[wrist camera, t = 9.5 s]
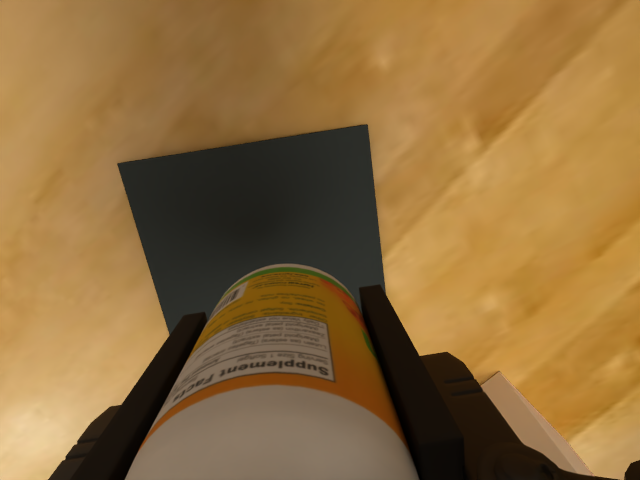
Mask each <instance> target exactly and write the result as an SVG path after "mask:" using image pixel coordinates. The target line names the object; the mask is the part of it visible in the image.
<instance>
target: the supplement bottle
mask: <svg viewBox="0 0 640 480" xmlns="http://www.w3.org/2000/svg"><path fill="white" fill-rule="evenodd" d="M125 480H419V476H418V473H417V470H416V467H415V464H414V461H413V458H412V455H411V452H410V449H409V446H408V443H407V440H406V438H405V435H404V432H403V429H402V426H401V423H400V420H399V418H398V415H397V412H396V409H395V406H394V403H393V400H392V398H391V395H390V392H389V389H388V386H387V383H386V380H385V377H384V374H383V371H382V368H381V365H380V362H379V360H378V357H377V354H376V351H375V349H374V346H373V343H372V340H371V337H370V335H369V332H368V329H367V326H366V323H365V321H364V318H363V315H362V313H361V311H360V308H359V306H358V304H357V302H356V300H355V299H354V297H353V296H352V294H351V293H350V292H349V291H348V290H347V288H346V287H345V286H344V285H343V284H342V283H340V282H339V281H338V280H337V279H335V278H334V277H332V276H331V275H329V274H327V273H325V272H323V271H321V270H319V269H316V268H313V267H310V266H305V265H299V264H276V265H270V266H266V267H263V268H260V269H257V270H255V271H253V272H251V273H249V274H247V275H245V276H244V277H242V278H241V279H239V280H238V281H237V282H236V283H234V284H233V285H232V286H231V287H230V288H229V289H228V290H227V291H226V292H225V294H224V295H223V296H222V298H221V299H220V301H219V302H218V304H217V305H216V307H215V309H214V311H213V312H212V314H211V316H210V318H209V320H208V322H207V323H206V325H205V327H204V329H203V331H202V333H201V335H200V337H199V338H198V340H197V342H196V344H195V346H194V348H193V350H192V352H191V354H190V356H189V358H188V360H187V361H186V363H185V365H184V367H183V369H182V371H181V373H180V374H179V376H178V378H177V380H176V382H175V384H174V386H173V388H172V390H171V391H170V393H169V395H168V397H167V399H166V401H165V403H164V405H163V406H162V408H161V410H160V412H159V414H158V416H157V417H156V419H155V421H154V423H153V425H152V427H151V429H150V430H149V432H148V434H147V436H146V438H145V440H144V441H143V443H142V445H141V447H140V449H139V451H138V453H137V455H136V457H135V459H134V461H133V463H132V465H131V467H130V469H129V471H128V474H127V476H126V478H125Z"/></svg>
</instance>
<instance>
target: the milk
mask: <svg viewBox="0 0 640 480" xmlns="http://www.w3.org/2000/svg"><path fill="white" fill-rule="evenodd" d="M481 387H482V389H483V392H485V393H486V394H487V395H488V397H489V398H490V400H491V401H492V402H493V404H494V405H495V406H496V408H497V409H498V411H499V412H500V413H501V415H502V416H503V417H504V419H505V420H506V421H507V423H508V424H509V426H510V427H511V428H512V430H513V431H514V432H515V434H516V435H517V436H518V438H519V439H520V441H521V442H522V443H523V444H524V445H526V446H528V447H531V448H533V449H535V450H537V451H539V452H541V453H543V454H544V455H545V456H546V457H548V458H549V459H550V460H551V461H552V462H554V463H555V464H556V465H557V466H558V468H560V469H563V470H565V471H569V472H573V473H578V474H582V475H589V476H594V475H593V473H592V472H591V471H590V470H589V468H588V467H587V466H586V465H585V463H584V462H583V461H582V460H581V458H580V457H579V456H578V455H577V453H576V452H575V451H574V450H573V448H572V447H571V446H570V445H569V443H568V442H567V441H566V440H565V439H564V438H563V437H562V436H561V435H560V434H559V433H558V432H557V431H556V430H555V429H554V428H553V427H552V425H551V424H550V423H549V422H548V421H547V420H546V419H545V418H544V417H543V416H542V415H541V414H540V413H539V412H538V411H537V410H536V409H535V408H534V407H533V406H532V405H531V404H530V403H529V401H528V400H527V399H526V398H525V397H524V396H523V395H522V394H521V393H520V392H519V391H518V390H517V389H516V388H515V387H514V386H513V385H512V384H511V383H510V382H509V381H508V380H507V379H506V378H505V376H504V375H503V374H502V373H501V372H500V371H499V372H498V373H497V374H495V375H494V376H493V377H491V378H490V379H489V380H487V381H486V382H485V383H484V384H482V385H481Z"/></svg>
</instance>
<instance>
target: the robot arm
mask: <svg viewBox="0 0 640 480" xmlns="http://www.w3.org/2000/svg"><path fill="white" fill-rule="evenodd" d="M359 294H360V302H361V310H362V315H363V318H364V321H365V323H366V326H367V329H368V332H369V335H370V337H371V340H372V343H373V346H374V349H375V351H376V354H377V357H378V360H379V362H380V365H381V368H382V371H383V374H384V377H385V380H386V383H387V386H388V389H389V392H390V395H391V398H392V400H393V403H394V406H395V409H396V412H397V415H398V418H399V420H400V423H401V426H402V429H403V432H404V435H405V438H406V440H407V443H408V446H409V449H410V452H411V455H412V458H413V461H414V464H415V467H416V470H417V473H418V476H419V480H618V479H611V478H604V477H597V476H589V475H582V474H578V473H573V472H569V471H565V470H563V469H560V468H558V466H557V465H556V464H555V463H554V462H552V461H551V460H550V459H549V458H548V457H546V456H545V455H544V454H543V453H541V452H539V451H537V450H535V449H533V448H531V447H528V446H526V445H524V444H523V443H522V442H521V441H520V439H519V438H518V436H517V435H516V434H515V432H514V431H513V430H512V428H511V427H510V426H509V424H508V423H507V421H506V420H505V419H504V417H503V416H502V415H501V413H500V412H499V411H498V409H497V408H496V406H495V405H494V404H493V402H492V401H491V400H490V398H489V397H488V395H487V394H486V393H485V392H483V389H482V387H481V386H480V385H479V383H478V382H477V380H476V379H474V376H473V375H472V374H471V372H470V371H469V370H468V368H467V367H466V365H465V364H464V363H463V362H462V361H460V360H459V359H457V358H456V357H454V356H453V355H451V354H450V353H448V352H443V353H437V354H430V355H424V356H419V354H418V352H417V351H416V349H415V347H414V345H413V343H412V342H411V340H410V338H409V336H408V334H407V332H406V331H405V329H404V327H403V325H402V323H401V321H400V320H399V318H398V316H397V314H396V312H395V311H394V309H393V307H392V305H391V303H390V301H389V300H388V298H387V296H386V294H385V292H384V290H383V289H382V287H381V285H380V284H378V285H372V286H365V287H359ZM207 322H208V321H207V317H206V313H205V312H200V313H194V314H187V315H183V317H182V318H181V320H180V321H179V323H178V324H177V325H176V327H175V328H174V330H173V331H172V333H171V334H170V336H169V337H168V338H167V340H166V341H165V343H164V344H163V346H162V347H161V349H160V350H159V351H158V353H157V354H156V356H155V357H154V359H153V360H152V362H151V363H150V364H149V366H148V367H147V369H146V370H145V372H144V373H143V375H142V376H141V377H140V379H139V380H138V382H137V383H136V385H135V386H134V388H133V389H132V390H131V392H130V393H129V395H128V396H127V398H126V399H125V401H124V402H123V403H122V405H118V406H111V407H109V408H108V409H107V410H106V411H104V412H103V413H102V414H101V415H100V416H99V417H97V418H96V419H95V420H94V421H93V422H92V423H91V424H90V425H89V426H88V428H87V429H86V430H85V432H84V433H83V434H82V436H81V437H80V438H79V440H78V441H77V444H76V445H74V446H73V447H72V449H71V450H70V451H69V453H68V454H67V455H66V459H65V460H64V461H62V462H61V463H60V465H59V466H58V467H57V469H56V470H55V471H54V473H53V474H52V475H51V477H50V478H49V479H48V480H125V478H126V476H127V474H128V471H129V469H130V467H131V465H132V463H133V461H134V459H135V457H136V455H137V453H138V451H139V449H140V447H141V445H142V443H143V441H144V440H145V438H146V436H147V434H148V432H149V430H150V429H151V427H152V425H153V423H154V421H155V419H156V417H157V416H158V414H159V412H160V410H161V408H162V406H163V405H164V403H165V401H166V399H167V397H168V395H169V393H170V391H171V390H172V388H173V386H174V384H175V382H176V380H177V378H178V376H179V374H180V373H181V371H182V369H183V367H184V365H185V363H186V361H187V360H188V358H189V356H190V354H191V352H192V350H193V348H194V346H195V344H196V342H197V340H198V338H199V337H200V335H201V333H202V331H203V329H204V327H205V325H206V323H207ZM624 480H640V460H639V461H636V462H633V463H631V464H630V466H629V467H628V469H627V471H626V472H625V477H624Z"/></svg>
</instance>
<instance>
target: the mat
mask: <svg viewBox="0 0 640 480" xmlns="http://www.w3.org/2000/svg"><path fill="white" fill-rule="evenodd" d="M117 165H118V168H119V171H120V174H121V178H122V181H123V184H124V187H125V191H126V194H127V197H128V200H129V204H130V207H131V210H132V213H133V217H134V220H135V223H136V227H137V230H138V233H139V236H140V240H141V243H142V246H143V249H144V253H145V256H146V259H147V262H148V266H149V269H150V272H151V276H152V279H153V282H154V285H155V289H156V292H157V295H158V298H159V302H160V305H161V308H162V311H163V315H164V318H165V321H166V325H167V328H168V331H169V334H171V333H172V331H173V330H174V328H175V327H176V325H177V324H178V323H179V321H180V320H181V318H182V317H183V315H187V314H194V313H200V312H205V313H206V317H207V321H208V320H209V318H210V316H211V314H212V312H213V311H214V309H215V307H216V305H217V304H218V302H219V301H220V299H221V298H222V296H223V295H224V294H225V292H226V291H227V290H228V289H229V288H230V287H231V286H232V285H233V284H234V283H236V282H237V281H238V280H239V279H241V278H242V277H244V276H245V275H247V274H249V273H251V272H253V271H255V270H257V269H260V268H263V267H266V266H270V265H276V264H299V265H305V266H310V267H313V268H316V269H319V270H321V271H323V272H325V273H327V274H329V275H331V276H332V277H334V278H335V279H337V280H338V281H339V282H340V283H342V284H343V285H344V286H345V287H346V288H347V290H348V291H349V292H350V293H351V294H352V296H353V297H354V299H355V300H356V302H357V304H358V306H359V308H360V311H361V313H362V310H361V302H360V294H359V287H365V286H372V285H378V284H380V285H381V287H382V289H383V290H384V292H385V282H384V273H383V264H382V254H381V245H380V236H379V226H378V217H377V208H376V198H375V189H374V179H373V170H372V161H371V151H370V142H369V133H368V125H367V124H366V125H360V126H353V127H347V128H341V129H334V130H328V131H321V132H315V133H309V134H302V135H296V136H290V137H283V138H277V139H270V140H264V141H258V142H251V143H245V144H239V145H232V146H226V147H219V148H213V149H207V150H200V151H194V152H187V153H181V154H175V155H168V156H162V157H156V158H149V159H143V160H136V161H130V162H124V163H118V164H117ZM385 294H386V292H385Z"/></svg>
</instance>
